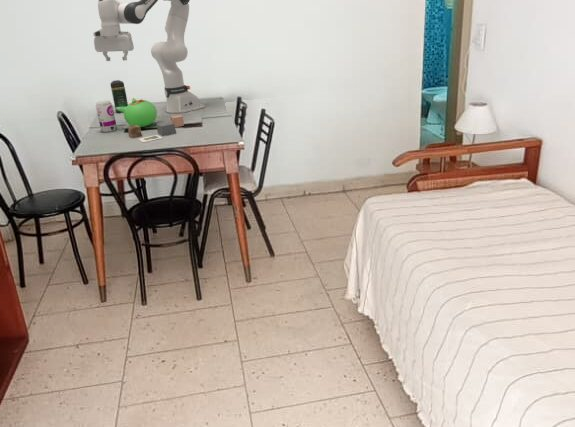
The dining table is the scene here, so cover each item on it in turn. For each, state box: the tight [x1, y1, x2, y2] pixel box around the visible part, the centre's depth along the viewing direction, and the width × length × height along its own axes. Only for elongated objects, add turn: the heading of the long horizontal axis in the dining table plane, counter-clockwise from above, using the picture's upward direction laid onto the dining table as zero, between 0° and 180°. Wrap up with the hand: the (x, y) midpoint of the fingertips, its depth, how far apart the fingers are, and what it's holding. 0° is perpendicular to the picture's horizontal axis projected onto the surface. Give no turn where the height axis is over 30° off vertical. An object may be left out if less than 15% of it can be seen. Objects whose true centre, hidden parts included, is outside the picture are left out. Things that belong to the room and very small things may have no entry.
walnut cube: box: [127, 125, 143, 139], centre depth 260 cm, size 5×5×5 cm
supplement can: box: [95, 100, 118, 133], centre depth 274 cm, size 8×8×15 cm
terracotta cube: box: [169, 114, 185, 128], centre depth 274 cm, size 5×5×5 cm
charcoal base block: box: [156, 120, 177, 137], centre depth 261 cm, size 7×7×5 cm
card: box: [137, 134, 163, 143], centre depth 254 cm, size 10×8×1 cm
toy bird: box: [115, 97, 158, 128], centre depth 276 cm, size 18×17×15 cm
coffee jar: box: [110, 79, 129, 114], centre depth 316 cm, size 10×8×19 cm
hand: (116, 60), depth 265 cm, fingers open, 8 cm apart
